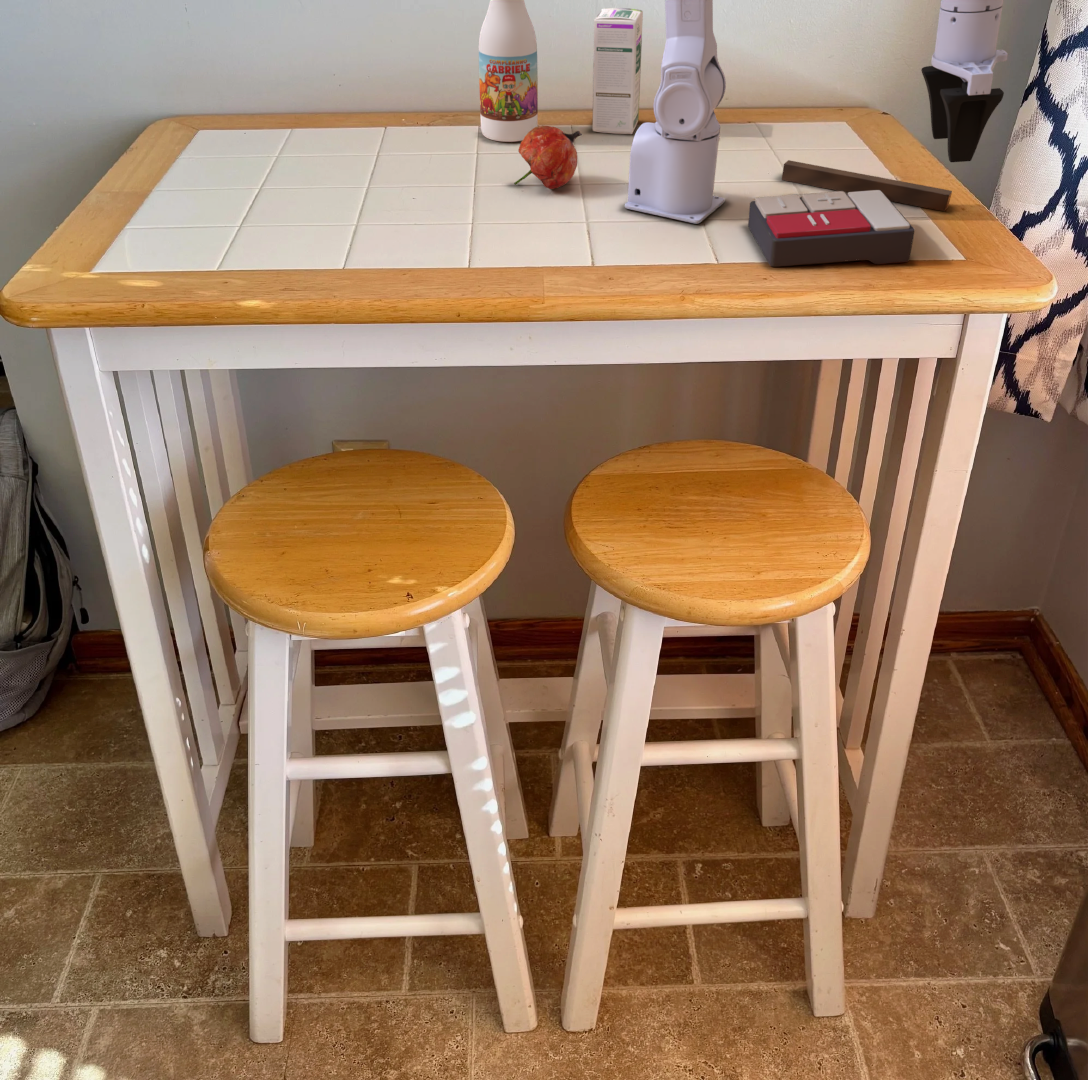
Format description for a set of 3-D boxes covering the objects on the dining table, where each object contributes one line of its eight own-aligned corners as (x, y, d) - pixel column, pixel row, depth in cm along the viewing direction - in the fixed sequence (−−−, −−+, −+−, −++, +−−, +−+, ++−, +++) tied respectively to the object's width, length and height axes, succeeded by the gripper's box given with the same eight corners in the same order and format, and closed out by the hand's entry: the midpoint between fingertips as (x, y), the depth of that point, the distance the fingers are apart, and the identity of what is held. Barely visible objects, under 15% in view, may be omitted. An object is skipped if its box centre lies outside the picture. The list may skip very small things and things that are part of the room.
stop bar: (781, 180, 129) (783, 163, 128) (785, 176, 130) (788, 159, 129) (944, 212, 122) (949, 195, 120) (948, 207, 123) (952, 190, 121)
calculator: (749, 194, 116) (883, 184, 116) (746, 231, 118) (877, 221, 119) (773, 233, 107) (917, 223, 108) (769, 273, 110) (910, 262, 110)
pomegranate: (525, 215, 126) (592, 168, 121) (488, 163, 123) (556, 113, 119) (537, 199, 132) (601, 154, 128) (502, 149, 130) (567, 101, 125)
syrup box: (633, 135, 142) (639, 19, 133) (590, 132, 143) (593, 16, 134) (638, 122, 147) (645, 8, 137) (597, 119, 147) (600, 6, 138)
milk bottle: (474, 127, 144) (468, -35, 132) (528, 122, 146) (527, -38, 134) (489, 146, 139) (484, -22, 126) (544, 140, 140) (545, -26, 128)
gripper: (1036, 19, 95) (1010, 169, 103) (994, -12, 107) (974, 125, 115) (955, 25, 96) (936, 174, 104) (923, -6, 108) (907, 130, 116)
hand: (951, 149), depth 110 cm, fingers open, 7 cm apart
